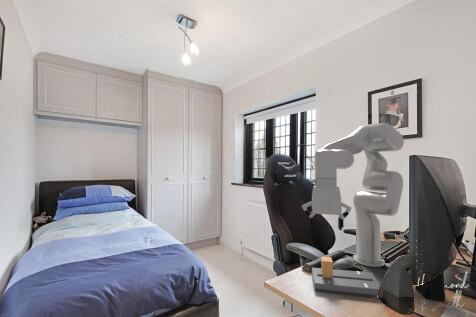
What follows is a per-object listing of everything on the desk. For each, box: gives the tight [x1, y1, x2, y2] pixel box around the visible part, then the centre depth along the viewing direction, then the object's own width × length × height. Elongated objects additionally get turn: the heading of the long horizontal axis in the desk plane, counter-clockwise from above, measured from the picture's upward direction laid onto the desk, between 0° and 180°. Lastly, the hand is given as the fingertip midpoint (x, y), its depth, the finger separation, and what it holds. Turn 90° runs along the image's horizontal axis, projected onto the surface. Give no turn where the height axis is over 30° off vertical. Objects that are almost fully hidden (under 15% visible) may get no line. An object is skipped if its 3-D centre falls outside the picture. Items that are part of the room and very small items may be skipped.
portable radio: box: [414, 271, 446, 302], centre depth 79 cm, size 8×6×25 cm
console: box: [311, 267, 381, 298], centre depth 86 cm, size 12×22×3 cm, turn 77°
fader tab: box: [320, 256, 334, 278], centre depth 88 cm, size 4×4×8 cm
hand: (326, 228), depth 87 cm, fingers open, 9 cm apart
